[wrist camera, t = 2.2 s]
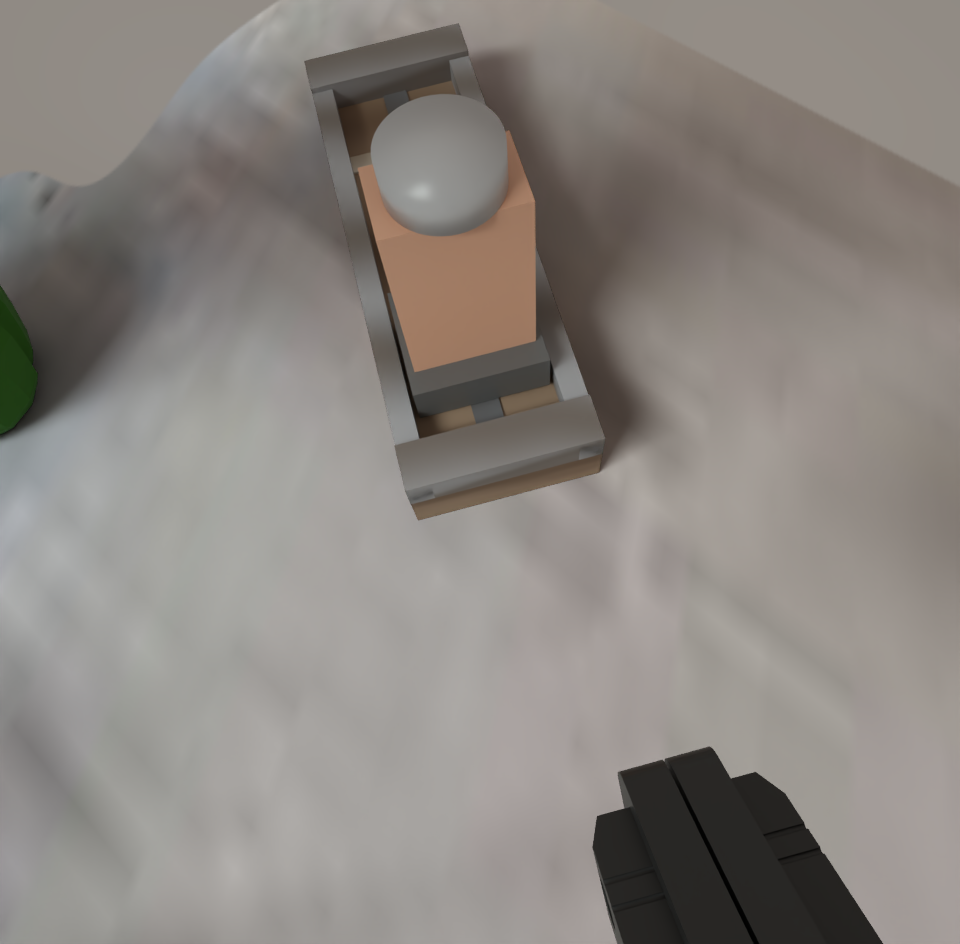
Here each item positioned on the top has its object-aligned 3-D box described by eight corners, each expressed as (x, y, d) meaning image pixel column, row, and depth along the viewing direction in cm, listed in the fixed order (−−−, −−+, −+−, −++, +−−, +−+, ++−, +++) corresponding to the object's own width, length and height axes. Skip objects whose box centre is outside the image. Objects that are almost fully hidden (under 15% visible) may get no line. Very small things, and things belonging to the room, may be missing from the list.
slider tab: (549, 384, 33) (555, 185, 22) (419, 418, 32) (361, 234, 22) (517, 288, 35) (508, 63, 24) (395, 320, 34) (330, 107, 24)
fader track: (598, 472, 34) (605, 438, 30) (418, 520, 33) (405, 491, 30) (464, 81, 43) (458, 23, 39) (322, 116, 42) (304, 61, 39)
